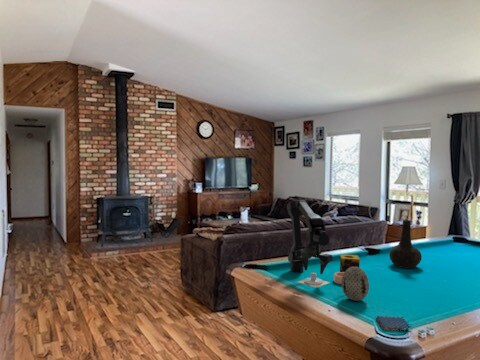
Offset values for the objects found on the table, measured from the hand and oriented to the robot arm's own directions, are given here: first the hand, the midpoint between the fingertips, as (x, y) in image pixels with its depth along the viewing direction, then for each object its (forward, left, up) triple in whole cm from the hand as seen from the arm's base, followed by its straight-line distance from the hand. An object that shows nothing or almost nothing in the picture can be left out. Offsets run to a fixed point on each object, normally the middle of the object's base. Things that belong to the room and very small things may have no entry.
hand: (313, 272), depth 190 cm
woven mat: (+49, -20, -7) cm, 53 cm away
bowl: (+10, +12, -6) cm, 17 cm away
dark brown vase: (+18, +70, -6) cm, 72 cm away
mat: (0, 0, -6) cm, 6 cm away
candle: (+4, +29, -6) cm, 30 cm away
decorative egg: (+26, -6, -6) cm, 27 cm away
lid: (0, 0, -5) cm, 5 cm away
